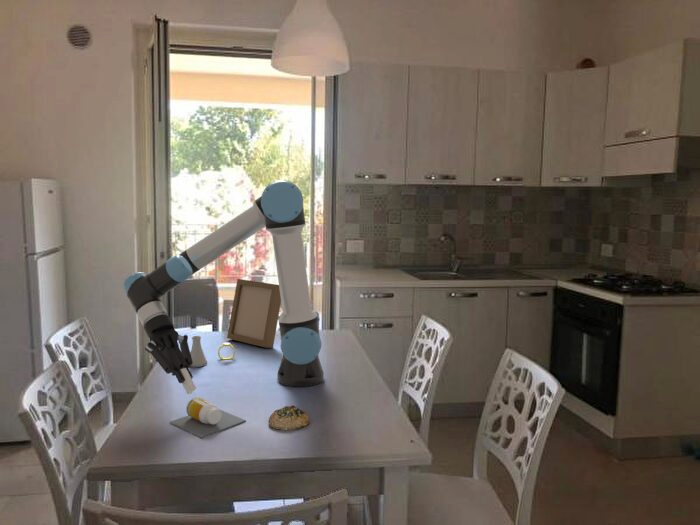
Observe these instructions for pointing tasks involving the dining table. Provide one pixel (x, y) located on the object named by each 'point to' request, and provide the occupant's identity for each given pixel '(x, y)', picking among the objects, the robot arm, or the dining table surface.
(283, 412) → the bread roll
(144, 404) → the dining table surface
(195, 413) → the supplement bottle
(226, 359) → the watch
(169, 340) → the robot arm
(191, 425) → the mat
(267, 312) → the photo frame
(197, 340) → the flask
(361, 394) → the dining table surface
